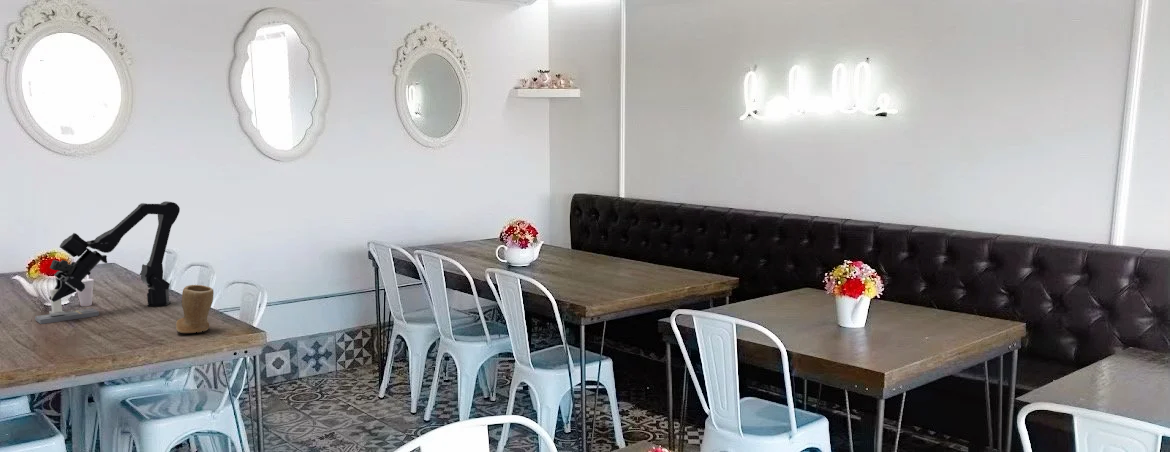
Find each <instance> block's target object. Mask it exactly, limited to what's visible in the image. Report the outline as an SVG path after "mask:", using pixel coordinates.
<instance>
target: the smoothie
mask: <svg viewBox="0 0 1170 452" xmlns="http://www.w3.org/2000/svg"><path fill="white" fill-rule="evenodd" d="M94 282H95V280H94V278H87V276H86V277H85V278H84V279H83V280H82V283H84V284H85V288H84V290H83V291H82V292H80V291H78V290H77V289H76V291H77V292H76V293H77V296H78V300H79V304H80V307H89V306H92V304H93V293H94Z"/></svg>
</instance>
